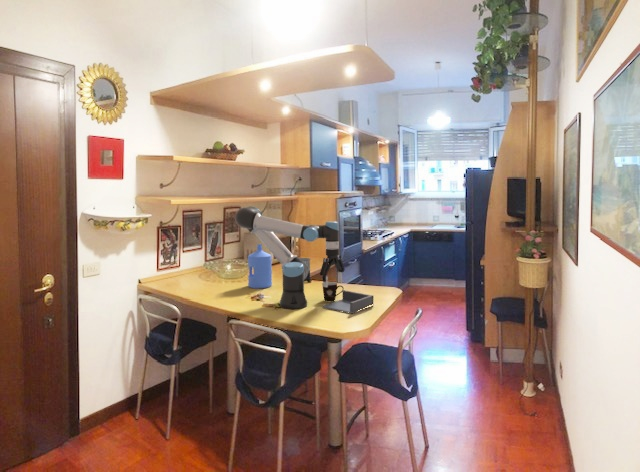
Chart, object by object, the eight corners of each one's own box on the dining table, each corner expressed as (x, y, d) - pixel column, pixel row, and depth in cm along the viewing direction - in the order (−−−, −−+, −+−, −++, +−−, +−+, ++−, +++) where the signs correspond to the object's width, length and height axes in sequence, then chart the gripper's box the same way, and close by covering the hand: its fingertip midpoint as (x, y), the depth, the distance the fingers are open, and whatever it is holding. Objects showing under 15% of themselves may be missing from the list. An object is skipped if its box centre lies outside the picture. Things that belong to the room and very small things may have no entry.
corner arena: (352, 314, 220) (352, 302, 219) (322, 307, 233) (322, 296, 232) (373, 306, 235) (373, 295, 235) (344, 300, 248) (344, 290, 247)
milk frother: (303, 277, 315) (303, 257, 313) (320, 280, 305) (320, 259, 303) (290, 280, 304) (290, 259, 302) (307, 283, 294) (306, 262, 292)
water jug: (274, 283, 291) (273, 243, 288) (269, 289, 276) (268, 246, 273) (251, 283, 293) (251, 243, 290) (245, 288, 277) (244, 246, 274)
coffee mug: (319, 301, 246) (319, 284, 245) (326, 297, 254) (326, 281, 253) (337, 303, 241) (337, 286, 240) (344, 300, 248) (344, 283, 247)
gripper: (323, 251, 232) (324, 289, 234) (350, 246, 251) (350, 282, 253) (313, 250, 237) (313, 288, 239) (340, 245, 256) (340, 280, 258)
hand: (332, 285), depth 246 cm, fingers open, 13 cm apart
